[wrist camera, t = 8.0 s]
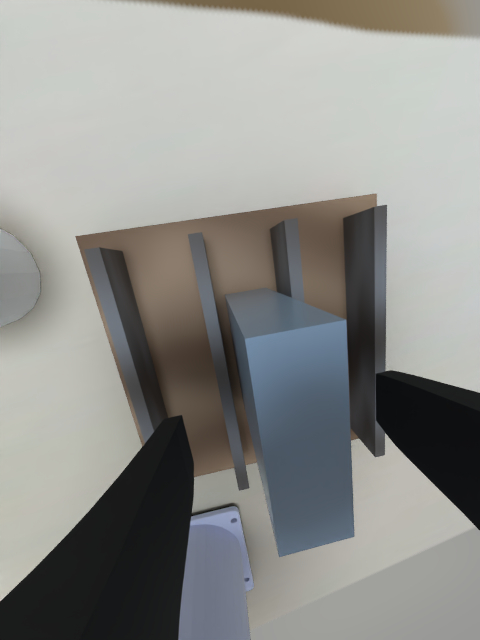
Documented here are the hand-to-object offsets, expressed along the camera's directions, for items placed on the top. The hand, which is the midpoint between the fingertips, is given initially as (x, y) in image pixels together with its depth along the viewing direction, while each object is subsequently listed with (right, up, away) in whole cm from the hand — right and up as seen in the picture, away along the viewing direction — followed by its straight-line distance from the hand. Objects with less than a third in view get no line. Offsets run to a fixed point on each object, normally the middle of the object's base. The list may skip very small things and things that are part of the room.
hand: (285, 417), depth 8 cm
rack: (-1, +2, +7) cm, 7 cm away
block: (-1, +2, +6) cm, 6 cm away
